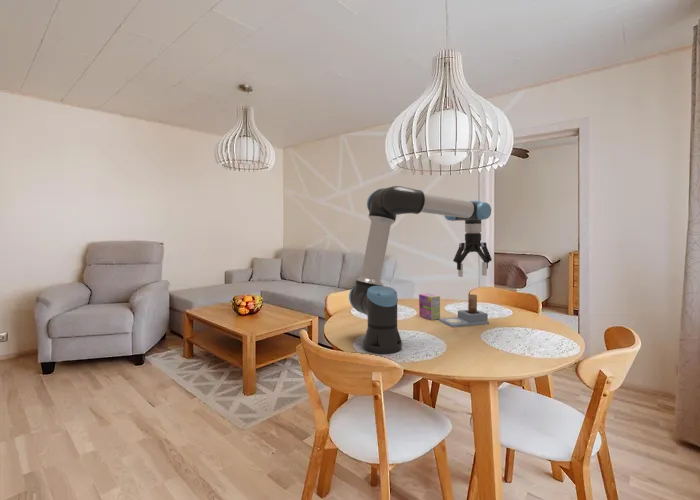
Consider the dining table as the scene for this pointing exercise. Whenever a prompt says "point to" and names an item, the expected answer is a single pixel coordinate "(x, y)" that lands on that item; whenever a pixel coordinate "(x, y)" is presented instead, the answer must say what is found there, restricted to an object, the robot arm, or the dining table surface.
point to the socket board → (464, 323)
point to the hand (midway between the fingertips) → (472, 276)
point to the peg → (472, 304)
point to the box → (429, 306)
